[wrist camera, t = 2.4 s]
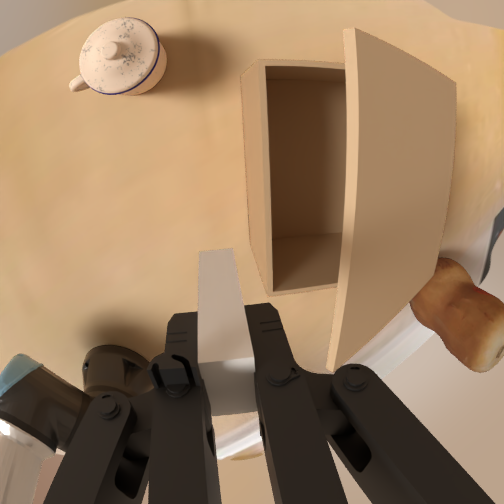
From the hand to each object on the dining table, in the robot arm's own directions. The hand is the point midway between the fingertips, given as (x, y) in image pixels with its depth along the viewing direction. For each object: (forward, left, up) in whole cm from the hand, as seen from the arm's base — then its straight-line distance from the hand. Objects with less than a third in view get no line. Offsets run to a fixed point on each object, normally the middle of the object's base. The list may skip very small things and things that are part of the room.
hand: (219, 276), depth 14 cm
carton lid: (0, -17, -9) cm, 20 cm away
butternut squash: (-23, -39, -29) cm, 54 cm away
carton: (0, -16, -29) cm, 33 cm away
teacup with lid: (+15, +10, -29) cm, 34 cm away
